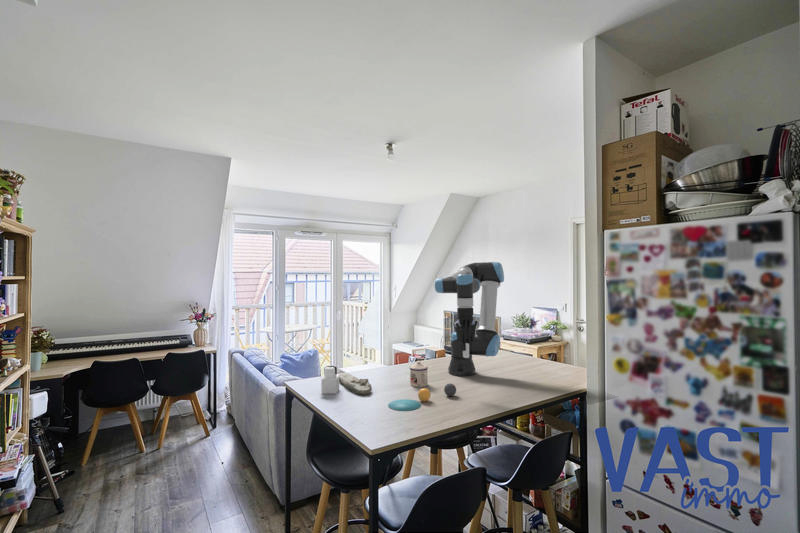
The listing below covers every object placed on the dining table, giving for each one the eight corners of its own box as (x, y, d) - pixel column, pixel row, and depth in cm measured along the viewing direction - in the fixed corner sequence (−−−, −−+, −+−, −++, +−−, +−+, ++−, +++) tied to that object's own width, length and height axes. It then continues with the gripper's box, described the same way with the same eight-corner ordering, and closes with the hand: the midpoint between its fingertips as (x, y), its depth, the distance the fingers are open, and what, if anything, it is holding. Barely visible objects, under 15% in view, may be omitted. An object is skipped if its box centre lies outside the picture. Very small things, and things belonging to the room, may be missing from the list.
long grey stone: (350, 379, 212) (333, 383, 207) (350, 370, 212) (332, 373, 208) (377, 393, 181) (357, 397, 177) (376, 381, 182) (356, 386, 177)
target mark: (410, 397, 175) (410, 397, 175) (427, 407, 162) (427, 406, 162) (382, 403, 168) (382, 402, 168) (398, 413, 156) (398, 412, 156)
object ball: (426, 398, 174) (426, 386, 174) (433, 401, 169) (432, 389, 169) (415, 400, 171) (415, 387, 171) (422, 403, 166) (422, 391, 166)
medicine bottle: (324, 389, 189) (324, 364, 189) (339, 389, 189) (339, 364, 189) (321, 394, 182) (321, 368, 182) (336, 394, 182) (336, 368, 182)
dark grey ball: (451, 393, 180) (451, 381, 180) (458, 396, 176) (458, 384, 176) (441, 395, 178) (441, 383, 178) (448, 398, 173) (448, 386, 173)
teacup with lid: (406, 383, 197) (406, 360, 197) (422, 381, 201) (422, 358, 201) (418, 390, 186) (418, 365, 186) (434, 387, 190) (434, 363, 190)
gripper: (471, 305, 188) (472, 354, 188) (449, 307, 182) (449, 357, 182) (481, 306, 182) (482, 357, 181) (458, 308, 175) (459, 360, 175)
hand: (466, 357), depth 181 cm, fingers closed
